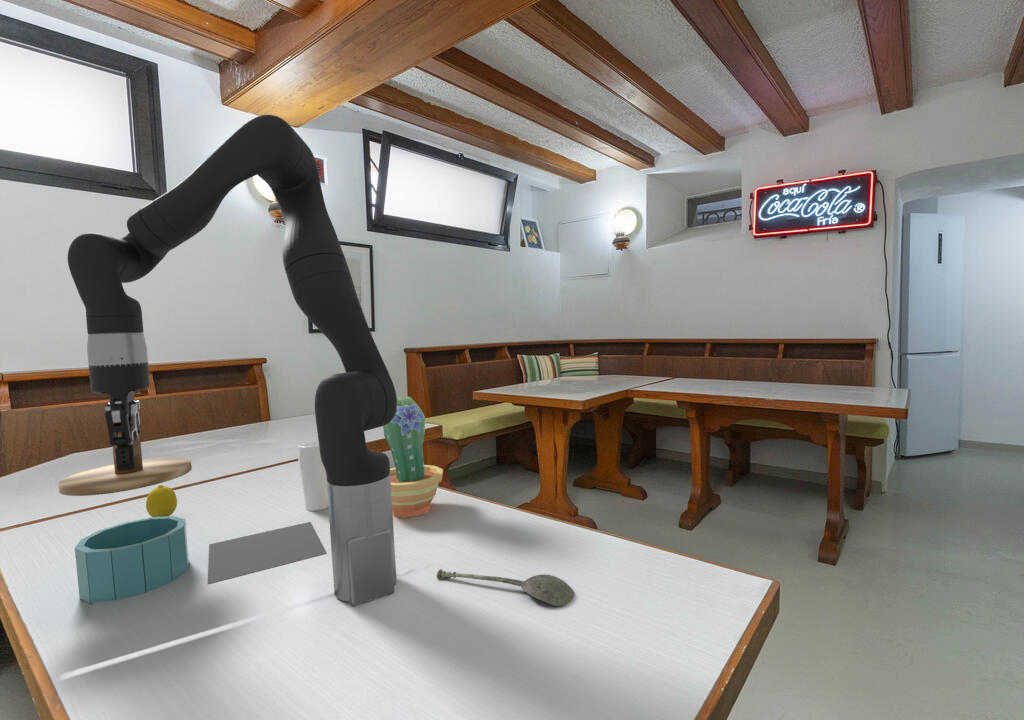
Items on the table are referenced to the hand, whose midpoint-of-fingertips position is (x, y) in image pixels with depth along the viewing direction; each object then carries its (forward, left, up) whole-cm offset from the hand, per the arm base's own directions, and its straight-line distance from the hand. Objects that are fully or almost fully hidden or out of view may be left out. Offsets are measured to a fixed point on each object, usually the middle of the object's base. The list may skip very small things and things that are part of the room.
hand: (128, 466), depth 80 cm
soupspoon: (-38, -48, -20) cm, 64 cm away
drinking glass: (+17, -31, -19) cm, 40 cm away
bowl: (0, 0, -19) cm, 19 cm away
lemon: (+31, -1, -19) cm, 36 cm away
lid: (0, 0, -2) cm, 2 cm away
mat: (-1, -19, -19) cm, 27 cm away
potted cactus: (+3, -48, -19) cm, 52 cm away
